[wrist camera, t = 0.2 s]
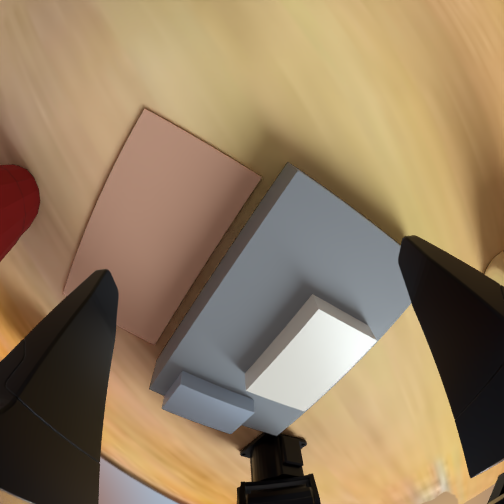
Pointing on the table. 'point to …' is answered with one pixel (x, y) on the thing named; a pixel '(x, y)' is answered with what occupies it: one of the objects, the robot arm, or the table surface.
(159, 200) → the mat
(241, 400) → the thick blue-grey slab
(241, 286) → the plate
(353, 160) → the table surface
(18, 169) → the plastic cup
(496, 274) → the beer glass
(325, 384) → the cream card
